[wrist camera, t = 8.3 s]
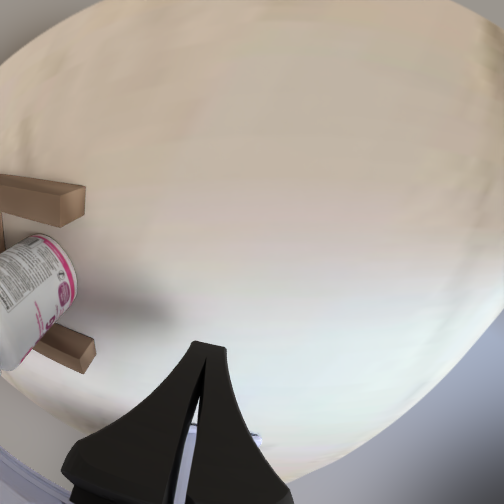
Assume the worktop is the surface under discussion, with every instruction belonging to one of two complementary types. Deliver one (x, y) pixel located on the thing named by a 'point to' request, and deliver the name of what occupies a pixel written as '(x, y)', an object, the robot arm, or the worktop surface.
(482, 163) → the worktop surface
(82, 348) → the notched board
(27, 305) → the pill bottle
